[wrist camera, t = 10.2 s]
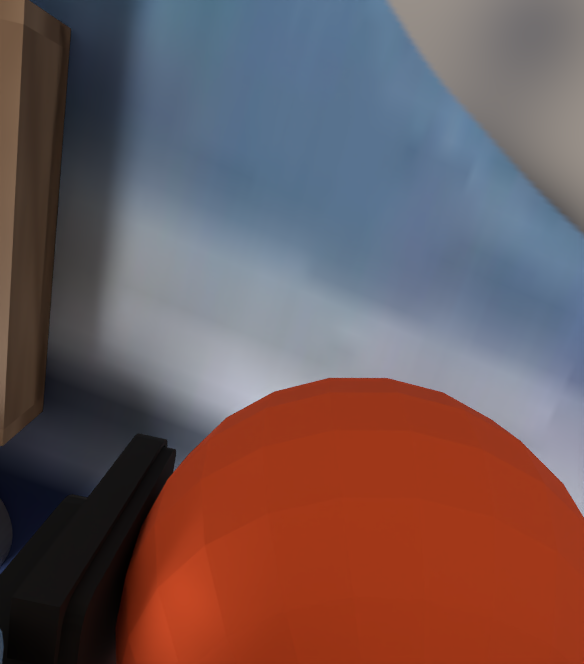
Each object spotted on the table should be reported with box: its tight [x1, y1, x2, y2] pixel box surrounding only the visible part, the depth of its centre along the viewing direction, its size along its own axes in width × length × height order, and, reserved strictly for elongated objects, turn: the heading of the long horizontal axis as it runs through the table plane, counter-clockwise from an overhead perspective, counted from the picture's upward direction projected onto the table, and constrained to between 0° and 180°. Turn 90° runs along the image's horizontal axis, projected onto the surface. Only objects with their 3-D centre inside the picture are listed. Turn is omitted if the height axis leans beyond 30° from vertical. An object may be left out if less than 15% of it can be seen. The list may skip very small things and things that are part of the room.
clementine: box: [115, 378, 584, 664], centre depth 7 cm, size 8×7×7 cm
